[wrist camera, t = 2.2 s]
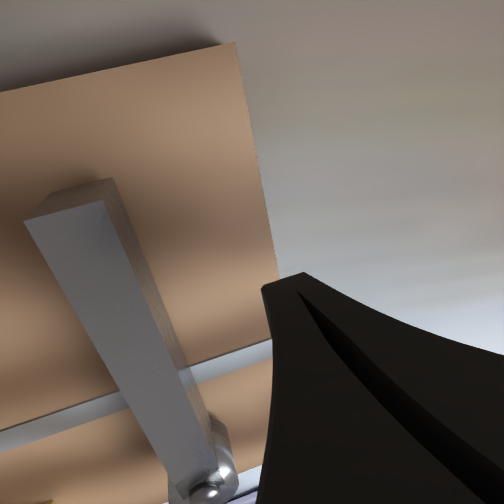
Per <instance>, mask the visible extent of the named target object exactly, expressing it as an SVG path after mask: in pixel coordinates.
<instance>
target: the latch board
mask: <svg viewBox="0 0 504 504" xmlns="http://www.w3.org/2000/svg"><path fill="white" fill-rule="evenodd" d="M109 177H113V179H114V181H115V184H116V186H117V189H118V191H119V194H120V196H121V198H122V201H123V203H124V206H125V208H126V211H127V213H128V216H129V218H130V221H131V223H132V226H133V228H134V231H135V233H136V236H137V238H138V241H139V243H140V245H141V248H142V250H143V253H144V255H145V258H146V260H147V263H148V265H149V268H150V270H151V273H152V275H153V278H154V280H155V283H156V285H157V288H158V290H159V292H160V295H161V297H162V300H163V302H164V305H165V307H166V310H167V312H168V315H169V317H170V320H171V322H172V325H173V327H174V330H175V332H176V335H177V337H178V339H179V342H180V344H181V347H182V349H183V352H184V354H185V357H186V359H187V362H188V364H189V367H190V369H191V372H192V374H193V377H194V379H195V382H196V384H197V386H198V389H199V391H200V394H201V396H202V399H203V401H204V404H205V406H206V409H207V411H208V414H209V416H210V418H212V419H216V420H219V421H221V422H222V423H223V424H224V425H225V426H226V427H227V430H228V434H229V439H230V444H231V448H232V453H233V458H234V462H235V467H236V472H237V474H239V473H242V472H244V471H247V470H249V469H252V468H254V467H257V466H259V465H262V464H263V458H264V452H265V446H266V439H267V432H268V424H269V414H270V404H271V392H272V370H273V356H272V338H271V334H270V330H269V325H268V321H267V316H266V312H265V307H264V303H263V298H262V294H261V288H262V286H263V285H264V284H268V283H271V282H274V281H277V280H280V278H279V273H278V267H277V262H276V257H275V251H274V246H273V241H272V235H271V230H270V225H269V219H268V214H267V209H266V203H265V198H264V193H263V188H262V182H261V177H260V172H259V166H258V161H257V156H256V150H255V145H254V140H253V134H252V129H251V124H250V118H249V113H248V108H247V102H246V97H245V92H244V86H243V81H242V76H241V70H240V65H239V60H238V54H237V49H236V44H235V42H232V43H227V44H222V45H218V46H213V47H208V48H204V49H199V50H194V51H190V52H185V53H180V54H176V55H171V56H166V57H162V58H157V59H152V60H148V61H143V62H139V63H134V64H129V65H125V66H120V67H115V68H111V69H106V70H101V71H97V72H92V73H87V74H83V75H78V76H73V77H69V78H64V79H59V80H55V81H50V82H46V83H41V84H36V85H32V86H27V87H22V88H18V89H13V90H8V91H4V92H0V504H42V503H45V502H47V501H50V500H54V501H55V502H56V503H57V504H163V503H165V502H168V480H167V472H166V470H165V468H164V466H163V465H162V463H161V461H160V459H159V458H158V456H157V454H156V452H155V451H154V449H153V447H152V445H151V444H150V442H149V440H148V438H147V437H146V435H145V433H144V431H143V430H142V428H141V426H140V424H139V423H138V421H137V419H136V417H135V416H134V414H133V412H132V410H131V409H130V407H129V405H128V403H127V402H126V400H125V398H124V396H123V395H122V393H121V391H120V390H119V388H118V386H117V384H116V383H115V381H114V379H113V377H112V376H111V374H110V372H109V370H108V369H107V367H106V365H105V363H104V362H103V360H102V358H101V356H100V355H99V353H98V351H97V349H96V348H95V346H94V344H93V342H92V341H91V339H90V337H89V335H88V334H87V332H86V330H85V328H84V327H83V325H82V323H81V321H80V320H79V318H78V316H77V314H76V313H75V311H74V309H73V307H72V306H71V304H70V302H69V300H68V299H67V297H66V295H65V294H64V292H63V290H62V288H61V287H60V285H59V283H58V281H57V280H56V278H55V276H54V274H53V273H52V271H51V269H50V267H49V266H48V264H47V262H46V260H45V259H44V257H43V255H42V253H41V252H40V250H39V248H38V246H37V245H36V243H35V241H34V239H33V238H32V236H31V234H30V232H29V231H28V229H27V227H26V225H25V224H24V222H23V221H24V220H25V219H26V217H27V216H28V215H29V214H30V213H31V212H32V211H33V210H34V209H35V208H36V207H37V206H38V205H39V204H40V203H41V202H42V201H43V200H44V199H45V198H46V197H47V195H48V194H49V193H51V192H55V191H59V190H63V189H67V188H71V187H74V186H78V185H82V184H86V183H90V182H94V181H98V180H102V179H106V178H109Z"/></svg>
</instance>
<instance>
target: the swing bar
mask: <svg viewBox="0 0 504 504" xmlns="http://www.w3.org/2000/svg"><path fill="white" fill-rule="evenodd" d="M23 222H24V224H25V225H26V227H27V229H28V231H29V232H30V234H31V236H32V238H33V239H34V241H35V243H36V245H37V246H38V248H39V250H40V252H41V253H42V255H43V257H44V259H45V260H46V262H47V264H48V266H49V267H50V269H51V271H52V273H53V274H54V276H55V278H56V280H57V281H58V283H59V285H60V287H61V288H62V290H63V292H64V294H65V295H66V297H67V299H68V300H69V302H70V304H71V306H72V307H73V309H74V311H75V313H76V314H77V316H78V318H79V320H80V321H81V323H82V325H83V327H84V328H85V330H86V332H87V334H88V335H89V337H90V339H91V341H92V342H93V344H94V346H95V348H96V349H97V351H98V353H99V355H100V356H101V358H102V360H103V362H104V363H105V365H106V367H107V369H108V370H109V372H110V374H111V376H112V377H113V379H114V381H115V383H116V384H117V386H118V388H119V390H120V391H121V393H122V395H123V396H124V398H125V400H126V402H127V403H128V405H129V407H130V409H131V410H132V412H133V414H134V416H135V417H136V419H137V421H138V423H139V424H140V426H141V428H142V430H143V431H144V433H145V435H146V437H147V438H148V440H149V442H150V444H151V445H152V447H153V449H154V451H155V452H156V454H157V456H158V458H159V459H160V461H161V463H162V465H163V466H164V468H165V470H166V472H167V480H168V502H169V504H224V503H225V502H227V501H228V500H229V499H230V498H231V497H232V496H233V495H234V494H235V492H236V491H237V488H238V485H239V481H238V476H237V472H236V467H235V462H234V458H233V453H232V448H231V444H230V439H229V434H228V430H227V427H226V426H225V425H224V424H223V423H222V422H221V421H219V420H216V419H212V418H210V416H209V414H208V411H207V409H206V406H205V404H204V401H203V399H202V396H201V394H200V391H199V389H198V386H197V384H196V382H195V379H194V377H193V374H192V372H191V369H190V367H189V364H188V362H187V359H186V357H185V354H184V352H183V349H182V347H181V344H180V342H179V339H178V337H177V335H176V332H175V330H174V327H173V325H172V322H171V320H170V317H169V315H168V312H167V310H166V307H165V305H164V302H163V300H162V297H161V295H160V292H159V290H158V288H157V285H156V283H155V280H154V278H153V275H152V273H151V270H150V268H149V265H148V263H147V260H146V258H145V255H144V253H143V250H142V248H141V245H140V243H139V241H138V238H137V236H136V233H135V231H134V228H133V226H132V223H131V221H130V218H129V216H128V213H127V211H126V208H125V206H124V203H123V201H122V198H121V196H120V194H119V191H118V189H117V186H116V184H115V181H114V179H113V177H109V178H106V179H102V180H98V181H94V182H90V183H86V184H82V185H78V186H74V187H71V188H67V189H63V190H59V191H55V192H51V193H49V194H48V195H47V197H46V198H45V199H44V200H43V201H42V202H41V203H40V204H39V205H38V206H37V207H36V208H35V209H34V210H33V211H32V212H31V213H30V214H29V215H28V216H27V217H26V219H25V220H24V221H23Z"/></svg>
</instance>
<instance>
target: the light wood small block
mask: <svg viewBox="0 0 504 504" xmlns="http://www.w3.org/2000/svg"><path fill="white" fill-rule="evenodd" d="M42 504H57V503H56V502H55V501H54V500H50V501H47V502H45V503H42Z"/></svg>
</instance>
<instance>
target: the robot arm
mask: <svg viewBox="0 0 504 504" xmlns="http://www.w3.org/2000/svg"><path fill="white" fill-rule="evenodd" d="M261 294H262V298H263V303H264V307H265V312H266V316H267V321H268V325H269V330H270V334H271V338H272V356H273V370H272V392H271V404H270V414H269V424H268V432H267V439H266V446H265V452H264V458H263V464H262V470H261V476H260V481H259V487H258V491H256V492H253V493H251V494H248V495H246V496H243V497H241V498H238V499H236V500H234V501H231V502H229V503H226V504H504V355H501V354H497V353H493V352H490V351H487V350H483V349H480V348H476V347H473V346H469V345H466V344H463V343H459V342H456V341H453V340H450V339H447V338H444V337H441V336H438V335H436V334H433V333H430V332H427V331H425V330H422V329H419V328H416V327H414V326H411V325H409V324H406V323H404V322H401V321H399V320H397V319H394V318H392V317H390V316H388V315H385V314H383V313H381V312H378V311H376V310H374V309H372V308H370V307H368V306H366V305H364V304H362V303H360V302H358V301H356V300H354V299H352V298H350V297H348V296H346V295H344V294H342V293H341V292H339V291H337V290H335V289H333V288H331V287H330V286H328V285H326V284H324V283H323V282H321V281H319V280H317V279H316V278H314V277H312V276H310V275H308V274H307V273H305V272H302V273H299V274H296V275H293V276H290V277H286V278H283V279H280V280H277V281H274V282H271V283H268V284H264V285H263V286H262V288H261Z"/></svg>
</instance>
